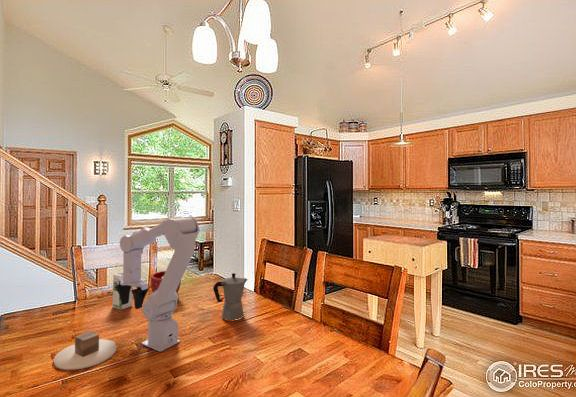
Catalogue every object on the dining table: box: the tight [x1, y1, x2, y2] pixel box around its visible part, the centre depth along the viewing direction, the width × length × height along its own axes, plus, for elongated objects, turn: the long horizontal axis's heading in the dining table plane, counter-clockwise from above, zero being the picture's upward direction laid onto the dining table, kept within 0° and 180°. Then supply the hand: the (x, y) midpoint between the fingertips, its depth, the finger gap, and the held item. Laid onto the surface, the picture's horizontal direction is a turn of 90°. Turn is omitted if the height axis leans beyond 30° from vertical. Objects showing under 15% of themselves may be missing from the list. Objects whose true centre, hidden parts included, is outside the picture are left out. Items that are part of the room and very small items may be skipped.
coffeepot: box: [212, 272, 249, 320], centre depth 126 cm, size 15×9×18 cm, turn 129°
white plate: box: [53, 338, 117, 371], centre depth 95 cm, size 16×16×1 cm
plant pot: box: [150, 270, 182, 297], centre depth 144 cm, size 13×13×12 cm
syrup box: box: [112, 271, 134, 311], centre depth 134 cm, size 6×6×14 cm
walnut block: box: [74, 330, 100, 357], centre depth 95 cm, size 5×5×5 cm
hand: (131, 306), depth 111 cm, fingers open, 7 cm apart
